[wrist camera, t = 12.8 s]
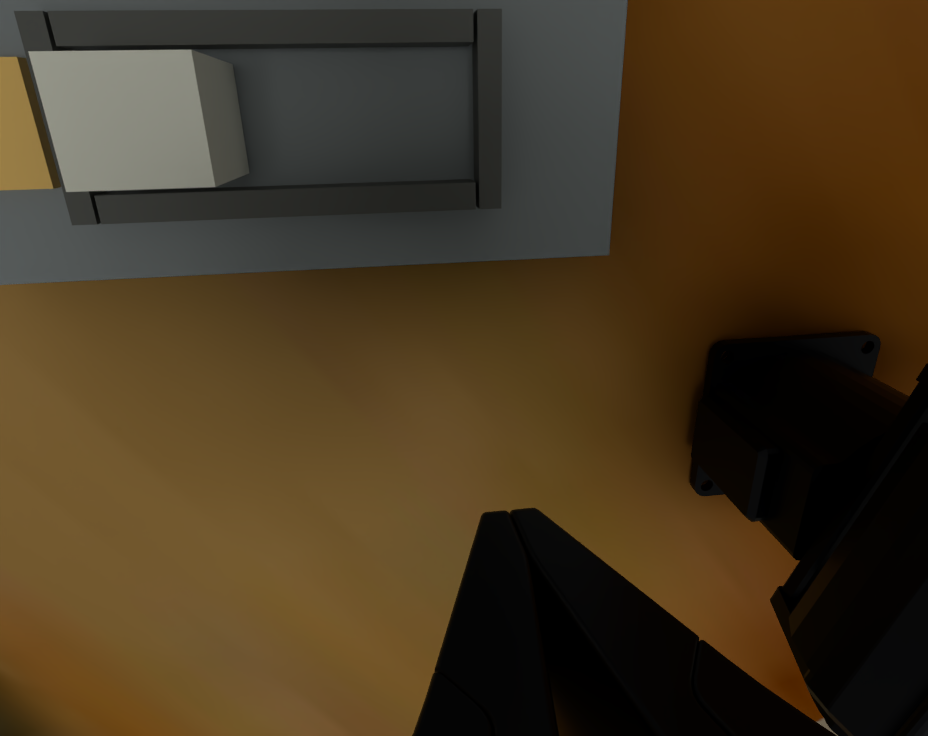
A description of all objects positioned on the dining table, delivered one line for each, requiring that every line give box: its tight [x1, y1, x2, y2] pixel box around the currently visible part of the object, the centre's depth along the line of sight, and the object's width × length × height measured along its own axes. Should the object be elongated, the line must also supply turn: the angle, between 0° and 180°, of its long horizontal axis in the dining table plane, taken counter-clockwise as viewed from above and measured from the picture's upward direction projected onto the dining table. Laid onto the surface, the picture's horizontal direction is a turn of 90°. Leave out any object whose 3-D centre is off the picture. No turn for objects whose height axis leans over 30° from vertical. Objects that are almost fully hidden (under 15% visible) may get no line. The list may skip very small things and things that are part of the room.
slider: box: [28, 50, 249, 192], centre depth 14 cm, size 3×3×4 cm
